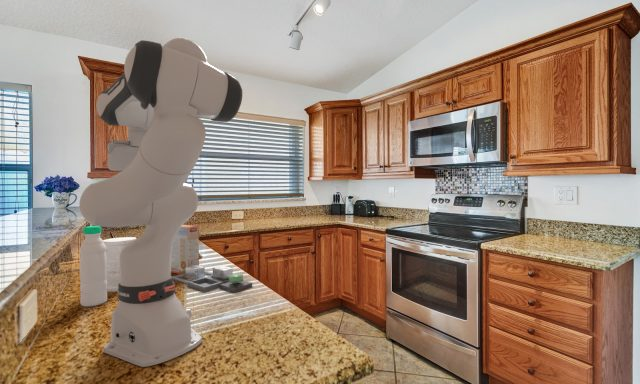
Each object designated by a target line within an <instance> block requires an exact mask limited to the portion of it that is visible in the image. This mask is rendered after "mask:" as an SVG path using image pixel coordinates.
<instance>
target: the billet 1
mask: <svg viewBox="0 0 640 384" xmlns="http://www.w3.org/2000/svg"><path fill="white" fill-rule="evenodd" d="M205 269H206V268H205V266H202V265H199V266H198V265H191V266H186V276H185V278H187V279H190V280H191V281H192V280H196V279H200V278H204V277H206V276H205V275H206V274H205V271H206V270H205Z"/></svg>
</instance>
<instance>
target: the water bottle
mask: <svg viewBox="0 0 640 384" xmlns="http://www.w3.org/2000/svg"><path fill="white" fill-rule="evenodd" d="M82 232H83V236H84V240H83V241H82V244H80V247H79V250H78V252H79V278H80V285H79V291H80V298H79V299H80V301H79V302H80V306H82V307H83V308H84V307H85V308H89V307H95V306H99V305H103V304H105V302H107V301H108V292H107V290H106V289H107V281H106V271H107V267H106V253H105V251H106V246H105V244H104V243H103V240H104V239H103V238H101V234H102V232H103V231H102V226H94V225H91V226H89V225H88V226H85V227H84V228H83V229H82Z"/></svg>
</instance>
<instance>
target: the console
mask: <svg viewBox="0 0 640 384" xmlns="http://www.w3.org/2000/svg"><path fill="white" fill-rule="evenodd" d="M252 287H253V282H250V281H246V280H243V281H242V282H238V285H234V283H231V282H227V283H223V284H220V287H219V289H221V290H224V291H228V292H231V293H236V292H240V291H243V290H247V289H249V288H252Z"/></svg>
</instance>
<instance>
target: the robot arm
mask: <svg viewBox="0 0 640 384" xmlns="http://www.w3.org/2000/svg"><path fill="white" fill-rule="evenodd" d="M123 68H124V69H123V71H124V72H123V73H122V74H121V75H120V76H119V77H118V78H117V79H116V80H115V81H113V83H112V84H111V85H110V86H109V87H107V88H105V89H104V90H102V91H101V92H100V93H99V95H98V97H97V100H96V111H97V116H98V118H100V120H102V121H103V123H105V124H106V125H108V126H116V127H117V126H123V127H128V129H127V140H119V139H112V140H111V141H108V143H107V144H106V145H107V146H106V147H107V152H108V154H107V155H108V156H107V163H106V165H107V168H108V170H109V171H114V172H115V171H119V172H118V173H117V174H114V175H113V176H111V177H108V178H106V179H103V180H101V181H98V182H94V183H90V184H89V185H88V186H87V187H86V188H85V189H84V190H83V191H82V193H81V195H80V198H79V204H78V205H79V211H80V213H81V216H82V217H83V219H84V220H86V222H88V224H90V225H91V226H100V227H107V228H125V227H133V226H134V227H135V226H145V228H144V231H143V233H141V235H140V236H139V237H137V238H136V240H134V241H132V242H131V243H129V244H128V245H126V246H125V247H124V248H123V250H122V251H121V254H120V283H119V284H118V291H117V299H118V300H119V301H118V303H117V306H116V307H115V308H114V309H113V310H112V312H111V321H110V336H109V337H110V340H109V342H108V343H106V344H105V345H104V346H103V350H102V351H103V353H104V354H108V355H110V356H111V357H115V358H117V359H121V360H122V361H125V362H128V363H129V364H133V365H136V366H138V367H140V368H141V367H142V368H146V367H151V366H155V365H158V364H162V363H165V362H167V361H171V360H173V359H176V358H178V357H179V356H180V357H181V356H182V355H184V354H186V353H188V352H190V351H192V350H194V349H195V348H196V347H198V346H199V345H200V344H201V343H202V342H203V338H202V336H201V335H200V334H199V333H198V332H197V331H196V329H194V328H193V327H192V324H191V318H192V310H191V309H190V308H186V309H185V307H184V305H183V302H182V301H180V300H179V298H178V297H177V295H176V288H175V287H176V285H175V281H174V279H173V278H172V277H173V276H172V272H171V252H172V245H173V242H174V239H175V237H176V234H177V233H178V231H179V229H180V228H181V226H182V225H185V223H186V222H187V221H188V220H190V218H192V217H193V216H194V214H195V212H196V211H197V209H198V205H199V197H198V193H197V192H196V190H195V189H194V187H193V186H192V185H191V184H190V183H186V181H187V179H188V177H189V176H190V174H191V172H192V171H193V169H194V168H195V166H196V164H197V162H198V160H199V158H200V156H201V154H202V150H203V148H204V145H205V141H206V135H207V134H206V133H207V131H206V127H205V125H204V123H203V120H201V118H204V119H210V120H211V121H212V122H218V123H227V122H228V123H229V122H230V121H231V120H233V119H234V118H235V117H236V115H237V114H238V112H239V110H240V107H241V105H242V101H243V89H242V85H241V83H240V82H239V80H238V79H236V78H235V77H234V76H233V75H231V74H230V73H228V72H226V71H222V70H219V69H218V68H216V67H214V66H213V65H211V64H209V63H208V57H207V55H206V53H205V52H204V50H203V49H202V48H201V46H199V45H198V43H196V42H194V41H193V40H191V39H188V38H184V37H175V38H172V39H170V40H169V41H166V43H164V44H163V45H162V43H159V42H154V41H150V40H143V39H142V40H140V41H137V42H136V43H135V45H134V46H133V47H132V48H131V49H129V52H128V53H127V55H126V57H125V60H124V66H123Z"/></svg>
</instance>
